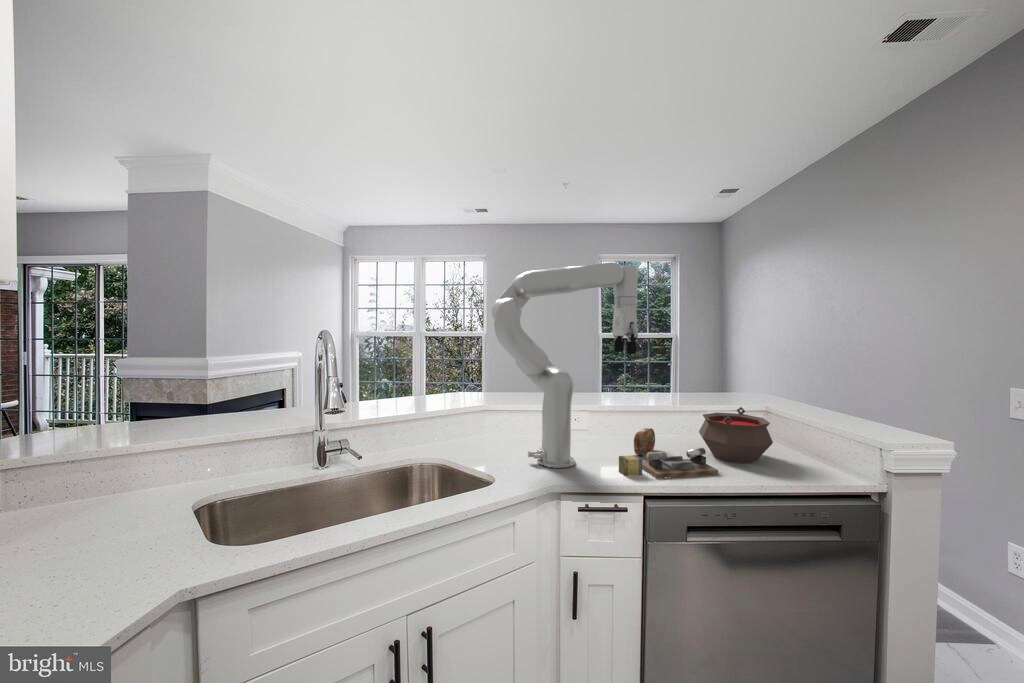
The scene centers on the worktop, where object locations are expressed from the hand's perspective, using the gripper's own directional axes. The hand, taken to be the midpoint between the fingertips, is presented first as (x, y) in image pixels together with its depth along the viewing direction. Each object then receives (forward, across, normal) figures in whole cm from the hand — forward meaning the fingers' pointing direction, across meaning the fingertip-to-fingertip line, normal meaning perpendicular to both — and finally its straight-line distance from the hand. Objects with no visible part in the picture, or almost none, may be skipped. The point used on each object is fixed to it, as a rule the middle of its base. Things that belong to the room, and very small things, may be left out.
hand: (624, 352), depth 155 cm
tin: (+37, -6, +11) cm, 39 cm away
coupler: (+37, +14, -4) cm, 40 cm away
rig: (+37, +14, +12) cm, 41 cm away
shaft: (+35, +13, +19) cm, 42 cm away
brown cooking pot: (+37, +4, +40) cm, 55 cm away
